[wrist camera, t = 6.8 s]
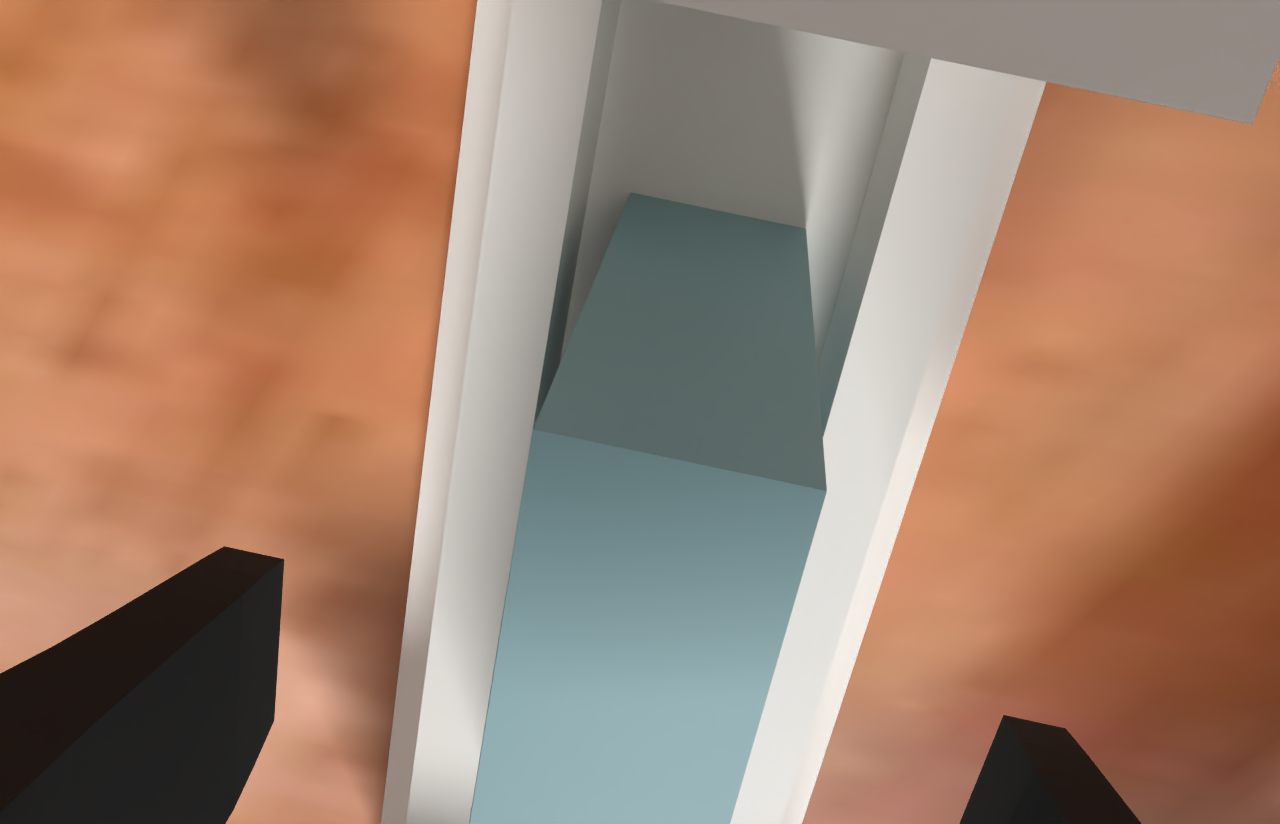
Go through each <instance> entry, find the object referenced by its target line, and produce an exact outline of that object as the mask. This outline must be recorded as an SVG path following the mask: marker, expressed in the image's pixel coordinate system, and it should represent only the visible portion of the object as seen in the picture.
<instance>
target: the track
mask: <svg viewBox="0 0 1280 824" xmlns="http://www.w3.org/2000/svg"><path fill="white" fill-rule="evenodd" d="M1279 58H1280V0H478V1H477V9H476V18H475V26H474V35H473V43H472V52H471V60H470V69H469V77H468V86H467V94H466V103H465V112H464V120H463V129H462V137H461V146H460V154H459V163H458V171H457V180H456V188H455V197H454V205H453V214H452V222H451V231H450V239H449V248H448V256H447V265H446V273H445V282H444V290H443V299H442V307H441V316H440V324H439V333H438V341H437V350H436V359H435V367H434V376H433V384H432V393H431V401H430V410H429V418H428V427H427V435H426V444H425V452H424V461H423V469H422V478H421V486H420V495H419V503H418V512H417V520H416V529H415V537H414V546H413V554H412V563H411V571H410V580H409V588H408V597H407V605H406V614H405V623H404V631H403V640H402V648H401V657H400V665H399V674H398V682H397V691H396V699H395V708H394V716H393V725H392V733H391V742H390V750H389V759H388V767H387V776H386V784H385V793H384V801H383V810H382V818H381V824H470V819H471V813H472V807H473V800H474V794H475V788H476V782H477V776H478V769H479V763H480V757H481V751H482V744H483V738H484V732H485V726H486V719H487V713H488V707H489V701H490V694H491V688H492V682H493V676H494V669H495V663H496V657H497V651H498V644H499V638H500V632H501V626H502V619H503V613H504V607H505V601H506V594H507V588H508V582H509V576H510V569H511V563H512V557H513V551H514V544H515V538H516V532H517V526H518V519H519V513H520V507H521V501H522V494H523V488H524V482H525V476H526V469H527V463H528V457H529V451H530V444H531V438H532V432H533V428H534V425H535V423H536V421H537V418H538V416H539V413H540V411H541V408H542V406H543V404H544V401H545V399H546V396H547V394H548V391H549V389H550V387H551V384H552V382H553V379H554V377H555V374H556V372H557V370H558V367H559V365H560V362H561V360H562V357H563V355H564V353H565V350H566V348H567V345H568V343H569V341H570V338H571V336H572V333H573V331H574V328H575V326H576V324H577V321H578V319H579V316H580V314H581V311H582V309H583V307H584V304H585V302H586V299H587V297H588V294H589V292H590V290H591V287H592V285H593V282H594V280H595V277H596V275H597V273H598V270H599V268H600V265H601V263H602V260H603V258H604V256H605V253H606V251H607V248H608V246H609V244H610V241H611V239H612V236H613V234H614V231H615V229H616V227H617V224H618V222H619V219H620V217H621V214H622V212H623V210H624V207H625V205H626V202H627V200H628V197H629V195H630V193H636V194H641V195H646V196H651V197H656V198H660V199H665V200H670V201H675V202H680V203H684V204H689V205H694V206H699V207H704V208H708V209H713V210H718V211H723V212H728V213H733V214H737V215H742V216H747V217H752V218H757V219H761V220H766V221H771V222H776V223H781V224H785V225H790V226H795V227H800V228H805V229H806V234H807V247H808V259H809V272H810V284H811V297H812V310H813V322H814V335H815V347H816V360H817V373H818V385H819V398H820V410H821V423H822V436H823V448H824V461H825V473H826V486H827V493H826V496H825V499H824V503H823V506H822V510H821V513H820V517H819V520H818V523H817V527H816V530H815V534H814V537H813V541H812V544H811V547H810V551H809V554H808V558H807V561H806V565H805V568H804V571H803V575H802V578H801V582H800V585H799V589H798V592H797V595H796V599H795V602H794V606H793V609H792V613H791V616H790V619H789V623H788V626H787V630H786V633H785V637H784V640H783V644H782V647H781V650H780V654H779V657H778V661H777V664H776V668H775V671H774V674H773V678H772V681H771V685H770V688H769V692H768V695H767V698H766V702H765V705H764V709H763V712H762V716H761V719H760V722H759V726H758V729H757V733H756V736H755V740H754V743H753V746H752V750H751V753H750V757H749V760H748V764H747V767H746V770H745V774H744V777H743V781H742V784H741V788H740V791H739V795H738V798H737V801H736V805H735V808H734V812H733V815H732V819H731V822H730V824H802V821H803V818H804V815H805V812H806V809H807V806H808V803H809V800H810V797H811V794H812V791H813V788H814V785H815V782H816V779H817V776H818V773H819V770H820V767H821V764H822V761H823V758H824V754H825V751H826V748H827V745H828V742H829V739H830V736H831V733H832V730H833V727H834V724H835V721H836V718H837V715H838V712H839V709H840V706H841V703H842V700H843V697H844V694H845V691H846V688H847V685H848V682H849V679H850V676H851V673H852V670H853V667H854V664H855V661H856V657H857V654H858V651H859V648H860V645H861V642H862V639H863V636H864V633H865V630H866V627H867V624H868V621H869V618H870V615H871V612H872V609H873V606H874V603H875V600H876V597H877V594H878V591H879V588H880V585H881V582H882V579H883V576H884V573H885V570H886V567H887V564H888V561H889V557H890V554H891V551H892V548H893V545H894V542H895V539H896V536H897V533H898V530H899V527H900V524H901V521H902V518H903V515H904V512H905V509H906V506H907V503H908V500H909V497H910V494H911V491H912V488H913V485H914V482H915V479H916V476H917V473H918V470H919V467H920V464H921V460H922V457H923V454H924V451H925V448H926V445H927V442H928V439H929V436H930V433H931V430H932V427H933V424H934V421H935V418H936V415H937V412H938V409H939V406H940V403H941V400H942V397H943V394H944V391H945V388H946V385H947V382H948V379H949V376H950V373H951V370H952V367H953V364H954V360H955V357H956V354H957V351H958V348H959V345H960V342H961V339H962V336H963V333H964V330H965V327H966V324H967V321H968V318H969V315H970V312H971V309H972V306H973V303H974V300H975V297H976V294H977V291H978V288H979V285H980V282H981V279H982V276H983V273H984V270H985V267H986V263H987V260H988V257H989V254H990V251H991V248H992V245H993V242H994V239H995V236H996V233H997V230H998V227H999V224H1000V221H1001V218H1002V215H1003V212H1004V209H1005V206H1006V203H1007V200H1008V197H1009V194H1010V191H1011V188H1012V185H1013V182H1014V179H1015V176H1016V173H1017V170H1018V166H1019V163H1020V160H1021V157H1022V154H1023V151H1024V148H1025V145H1026V142H1027V139H1028V136H1029V133H1030V130H1031V127H1032V124H1033V121H1034V118H1035V115H1036V112H1037V109H1038V106H1039V103H1040V100H1041V97H1042V94H1043V91H1044V88H1045V85H1046V82H1049V83H1054V84H1059V85H1064V86H1069V87H1073V88H1078V89H1083V90H1088V91H1093V92H1097V93H1102V94H1107V95H1112V96H1117V97H1122V98H1126V99H1131V100H1136V101H1141V102H1146V103H1151V104H1155V105H1160V106H1165V107H1170V108H1175V109H1179V110H1184V111H1189V112H1194V113H1199V114H1204V115H1208V116H1213V117H1218V118H1223V119H1228V120H1232V121H1237V122H1242V123H1247V124H1252V123H1253V121H1254V118H1255V116H1256V114H1257V111H1258V109H1259V106H1260V104H1261V101H1262V99H1263V97H1264V94H1265V92H1266V89H1267V87H1268V84H1269V82H1270V80H1271V77H1272V75H1273V72H1274V70H1275V67H1276V65H1277V63H1278V60H1279Z"/></svg>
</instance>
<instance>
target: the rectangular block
mask: <svg viewBox="0 0 1280 824" xmlns="http://www.w3.org/2000/svg"><path fill="white" fill-rule="evenodd" d="M826 493H827V486H826V473H825V461H824V448H823V436H822V423H821V410H820V398H819V385H818V373H817V360H816V347H815V335H814V322H813V310H812V297H811V284H810V272H809V259H808V247H807V234H806V229H805V228H800V227H795V226H790V225H785V224H781V223H776V222H771V221H766V220H761V219H757V218H752V217H747V216H742V215H737V214H733V213H728V212H723V211H718V210H713V209H708V208H704V207H699V206H694V205H689V204H684V203H680V202H675V201H670V200H665V199H660V198H656V197H651V196H646V195H641V194H636V193H630V195H629V197H628V200H627V202H626V205H625V207H624V210H623V212H622V214H621V217H620V219H619V222H618V224H617V227H616V229H615V231H614V234H613V236H612V239H611V241H610V244H609V246H608V248H607V251H606V253H605V256H604V258H603V260H602V263H601V265H600V268H599V270H598V273H597V275H596V277H595V280H594V282H593V285H592V287H591V290H590V292H589V294H588V297H587V299H586V302H585V304H584V307H583V309H582V311H581V314H580V316H579V319H578V321H577V324H576V326H575V328H574V331H573V333H572V336H571V338H570V341H569V343H568V345H567V348H566V350H565V353H564V355H563V357H562V360H561V362H560V365H559V367H558V370H557V372H556V374H555V377H554V379H553V382H552V384H551V387H550V389H549V391H548V394H547V396H546V399H545V401H544V404H543V406H542V408H541V411H540V413H539V416H538V418H537V421H536V423H535V425H534V428H533V432H532V438H531V444H530V451H529V457H528V463H527V469H526V476H525V482H524V488H523V494H522V501H521V507H520V513H519V519H518V526H517V532H516V538H515V544H514V551H513V557H512V563H511V569H510V576H509V582H508V588H507V594H506V601H505V607H504V613H503V619H502V626H501V632H500V638H499V644H498V651H497V657H496V663H495V669H494V676H493V682H492V688H491V694H490V701H489V707H488V713H487V719H486V726H485V732H484V738H483V744H482V751H481V757H480V763H479V769H478V776H477V782H476V788H475V794H474V800H473V807H472V813H471V819H470V824H730V822H731V819H732V815H733V812H734V808H735V805H736V801H737V798H738V795H739V791H740V788H741V784H742V781H743V777H744V774H745V770H746V767H747V764H748V760H749V757H750V753H751V750H752V746H753V743H754V740H755V736H756V733H757V729H758V726H759V722H760V719H761V716H762V712H763V709H764V705H765V702H766V698H767V695H768V692H769V688H770V685H771V681H772V678H773V674H774V671H775V668H776V664H777V661H778V657H779V654H780V650H781V647H782V644H783V640H784V637H785V633H786V630H787V626H788V623H789V619H790V616H791V613H792V609H793V606H794V602H795V599H796V595H797V592H798V589H799V585H800V582H801V578H802V575H803V571H804V568H805V565H806V561H807V558H808V554H809V551H810V547H811V544H812V541H813V537H814V534H815V530H816V527H817V523H818V520H819V517H820V513H821V510H822V506H823V503H824V499H825V496H826Z"/></svg>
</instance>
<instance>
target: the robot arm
mask: <svg viewBox="0 0 1280 824" xmlns="http://www.w3.org/2000/svg"><path fill="white" fill-rule="evenodd" d="M283 570H284V559H280V558H275V557H271V556H266V555H261V554H257V553H252V552H248V551H243V550H238V549H234V548H229V547H222V548H221V549H219V550H217V551H215V552H214V553H212V554H210V555H208V556H206V557H205V558H203V559H201V560H200V561H198V562H196V563H195V564H193V565H191V566H190V567H188V568H186V569H185V570H183V571H181V572H179V573H178V574H176V575H174V576H173V577H171V578H169V579H168V580H166V581H164V582H163V583H161V584H159V585H158V586H156V587H154V588H153V589H151V590H149V591H148V592H146V593H144V594H143V595H141V596H139V597H138V598H136V599H134V600H132V601H131V602H129V603H127V604H126V605H124V606H122V607H121V608H119V609H117V610H116V611H114V612H112V613H111V614H109V615H107V616H105V617H104V618H102V619H100V620H98V621H97V622H95V623H93V624H91V625H90V626H88V627H86V628H84V629H83V630H81V631H79V632H77V633H76V634H74V635H72V636H70V637H69V638H67V639H65V640H63V641H62V642H60V643H58V644H56V645H55V646H53V647H51V648H49V649H47V650H45V651H43V652H41V653H39V654H37V655H36V656H34V657H32V658H30V659H28V660H26V661H24V662H22V663H20V664H18V665H16V666H14V667H12V668H10V669H8V670H6V671H5V672H3V673H1V674H0V824H225V823H226V821H227V820H228V818H229V816H230V815H231V813H232V811H233V810H234V808H235V805H236V803H237V801H238V799H239V797H240V795H241V793H242V790H243V788H244V786H245V784H246V782H247V780H248V778H249V776H250V773H251V771H252V769H253V767H254V765H255V762H256V760H257V758H258V756H259V753H260V751H261V749H262V747H263V744H264V742H265V740H266V738H267V735H268V733H269V731H270V729H271V726H272V724H273V722H274V714H275V698H276V682H277V666H278V650H279V634H280V618H281V602H282V586H283ZM960 824H1141V823H1140V821H1139V820H1138V819H1137V818H1136V816H1135V815H1134V814H1133V812H1132V811H1131V810H1130V809H1129V807H1128V806H1127V805H1126V803H1125V802H1124V801H1123V800H1122V798H1121V797H1120V796H1119V795H1118V793H1117V792H1116V791H1115V789H1114V788H1113V787H1112V786H1111V784H1110V783H1109V782H1108V780H1107V779H1106V778H1105V777H1104V775H1103V774H1102V773H1101V771H1100V770H1099V769H1098V768H1097V766H1096V765H1095V764H1094V763H1093V761H1092V760H1091V759H1090V757H1089V756H1088V755H1087V754H1086V753H1085V751H1084V750H1083V749H1082V748H1081V746H1080V745H1079V744H1078V743H1077V742H1076V740H1075V739H1074V738H1073V737H1072V736H1071V734H1070V733H1069V732H1068V731H1067V730H1066V729H1065V728H1061V727H1056V726H1051V725H1047V724H1042V723H1037V722H1033V721H1028V720H1024V719H1019V718H1014V717H1010V716H1005V715H1004V716H1003V718H1002V721H1001V723H1000V725H999V728H998V730H997V733H996V735H995V738H994V740H993V743H992V745H991V748H990V750H989V753H988V755H987V757H986V760H985V762H984V765H983V767H982V770H981V772H980V775H979V777H978V780H977V782H976V784H975V787H974V789H973V792H972V794H971V797H970V799H969V802H968V804H967V807H966V809H965V812H964V814H963V816H962V819H961V821H960Z"/></svg>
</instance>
